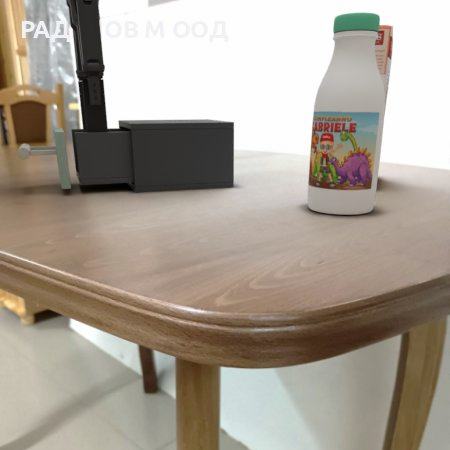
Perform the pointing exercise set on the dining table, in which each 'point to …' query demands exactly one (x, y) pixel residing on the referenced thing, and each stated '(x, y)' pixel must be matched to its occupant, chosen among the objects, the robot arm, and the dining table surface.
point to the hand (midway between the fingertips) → (94, 130)
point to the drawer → (91, 156)
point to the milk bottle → (348, 121)
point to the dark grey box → (181, 154)
